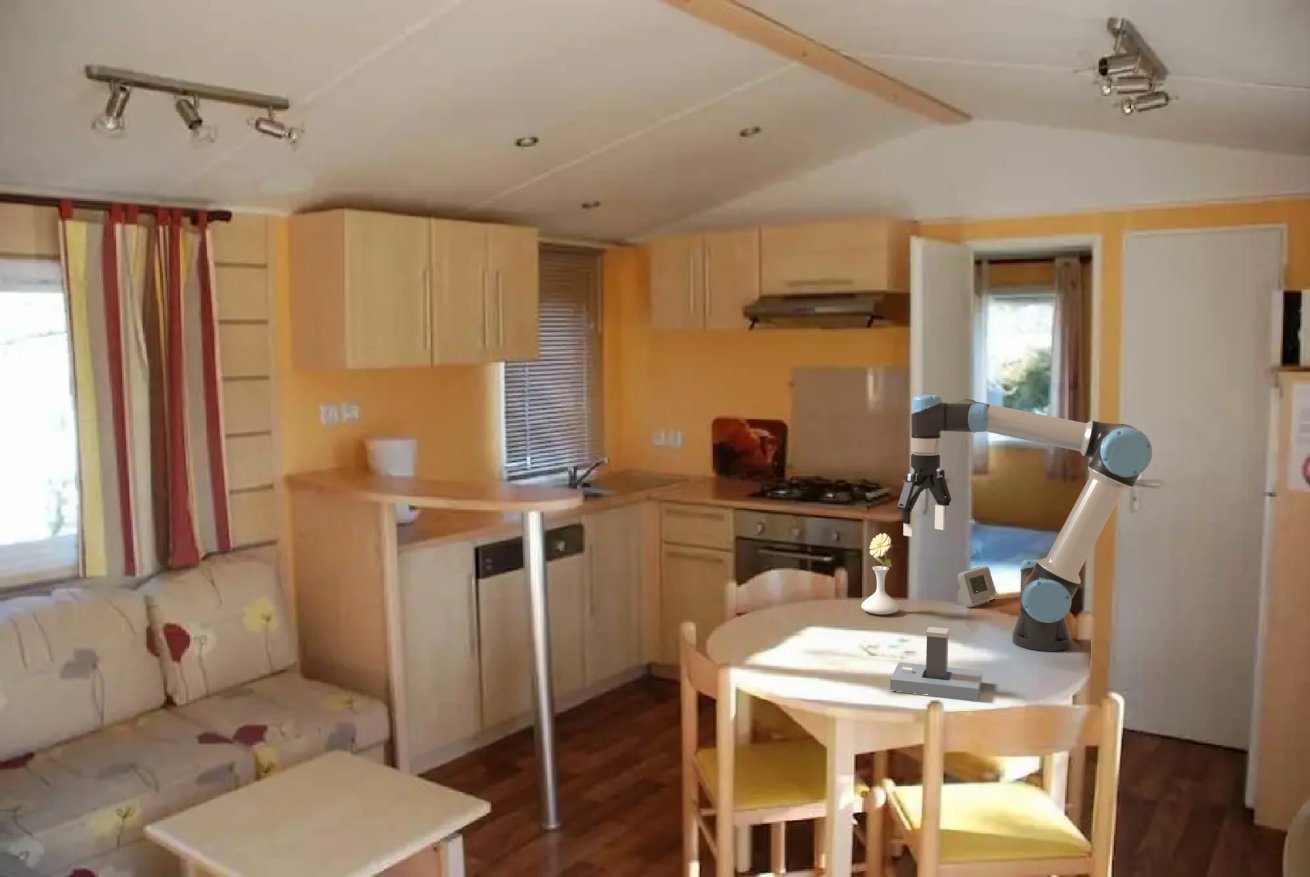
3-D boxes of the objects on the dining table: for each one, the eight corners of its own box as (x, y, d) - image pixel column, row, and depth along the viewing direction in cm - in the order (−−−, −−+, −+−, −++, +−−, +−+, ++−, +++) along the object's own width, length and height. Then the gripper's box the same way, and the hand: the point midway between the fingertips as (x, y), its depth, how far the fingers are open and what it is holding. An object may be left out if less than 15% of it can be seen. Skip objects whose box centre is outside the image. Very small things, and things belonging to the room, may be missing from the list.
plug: (947, 685, 259) (949, 628, 257) (945, 691, 254) (946, 633, 253) (927, 682, 260) (928, 626, 259) (924, 689, 256) (926, 631, 255)
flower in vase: (856, 608, 330) (857, 528, 327) (892, 607, 331) (893, 527, 329) (869, 619, 317) (870, 536, 314) (906, 618, 318) (908, 535, 316)
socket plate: (981, 682, 260) (982, 667, 260) (977, 701, 247) (978, 685, 247) (898, 673, 267) (898, 659, 267) (890, 691, 254) (890, 676, 254)
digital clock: (968, 609, 328) (969, 575, 327) (946, 603, 336) (947, 569, 334) (1005, 602, 336) (1006, 569, 335) (983, 596, 344) (984, 563, 343)
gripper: (942, 448, 294) (940, 524, 296) (884, 456, 278) (883, 536, 280) (965, 450, 288) (964, 528, 290) (907, 458, 272) (906, 540, 275)
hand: (924, 532), depth 285 cm, fingers open, 13 cm apart
